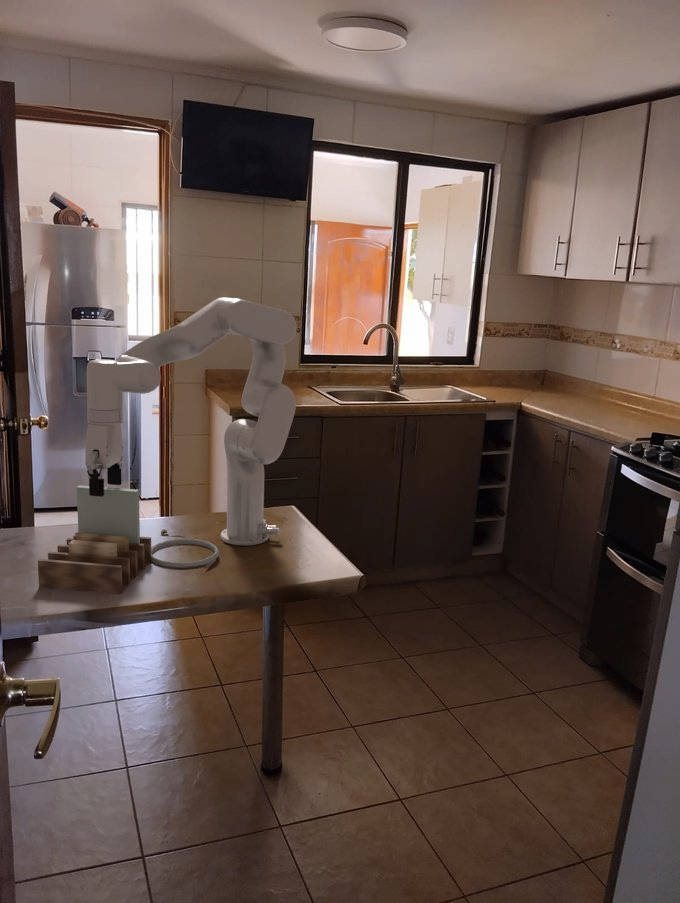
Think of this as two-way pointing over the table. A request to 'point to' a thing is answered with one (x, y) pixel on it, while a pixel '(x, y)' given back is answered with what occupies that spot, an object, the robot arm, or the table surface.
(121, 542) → the offcut dark
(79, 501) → the tall sheet
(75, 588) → the rack
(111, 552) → the offcut light
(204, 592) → the table surface
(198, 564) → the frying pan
